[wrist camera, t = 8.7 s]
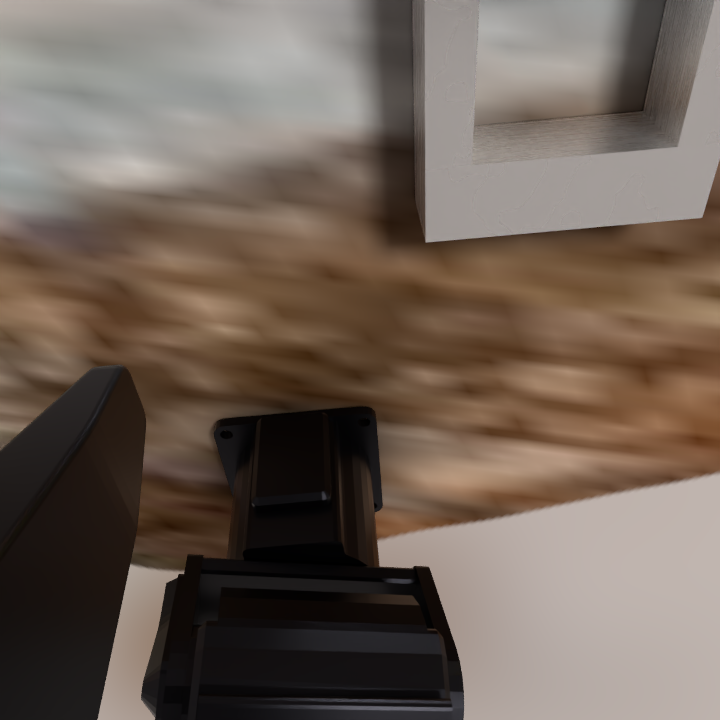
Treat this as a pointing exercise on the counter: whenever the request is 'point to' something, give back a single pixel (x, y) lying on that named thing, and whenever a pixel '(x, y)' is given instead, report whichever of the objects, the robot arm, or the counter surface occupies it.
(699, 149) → the rail bar
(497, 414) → the counter surface
